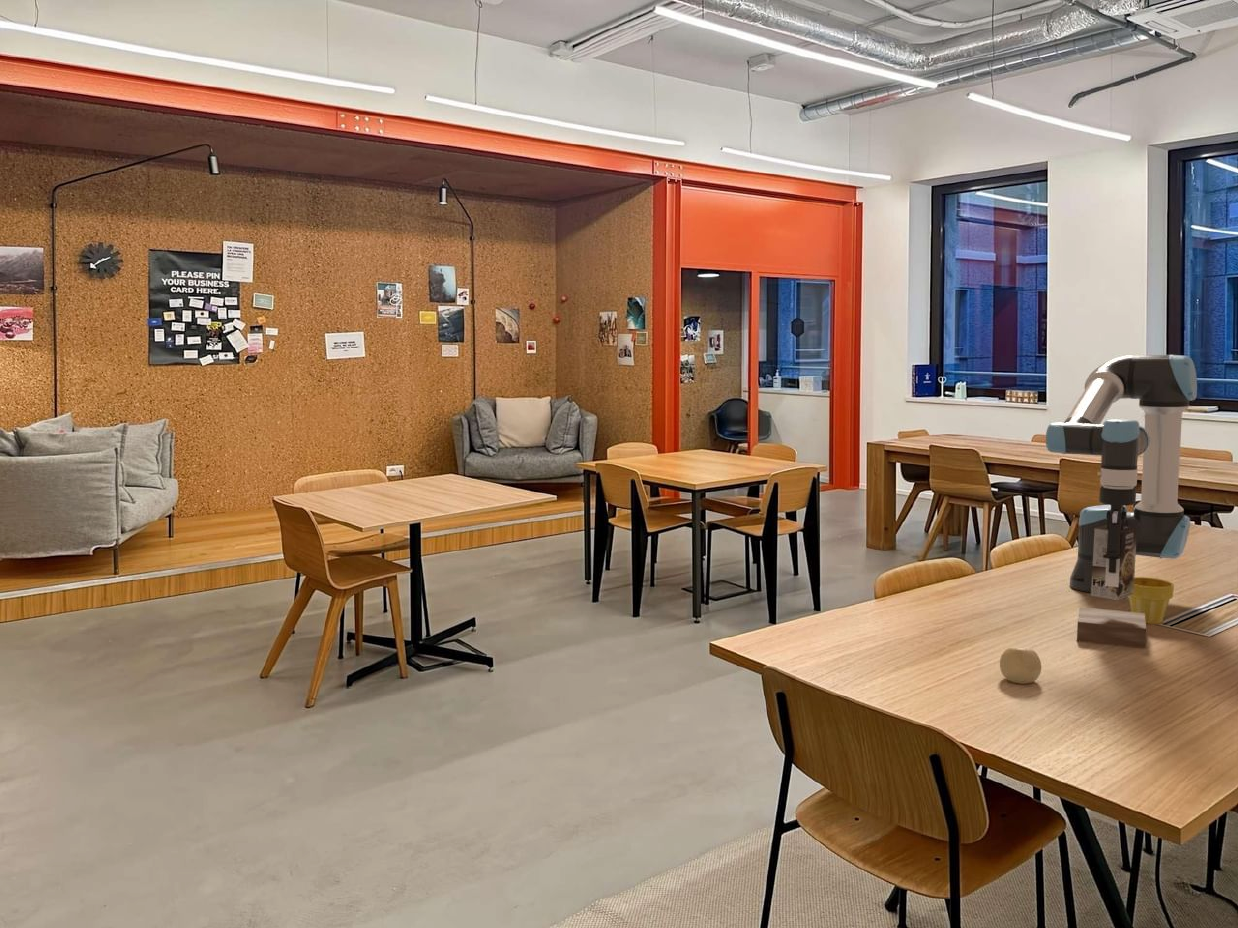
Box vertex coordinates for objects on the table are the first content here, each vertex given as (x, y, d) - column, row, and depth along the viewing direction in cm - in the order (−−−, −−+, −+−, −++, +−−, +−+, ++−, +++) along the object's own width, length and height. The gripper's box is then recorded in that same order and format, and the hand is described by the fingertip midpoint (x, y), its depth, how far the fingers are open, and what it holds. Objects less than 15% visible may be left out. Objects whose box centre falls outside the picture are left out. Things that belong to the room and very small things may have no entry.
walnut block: (1078, 626, 241) (1079, 606, 241) (1143, 633, 235) (1144, 613, 234) (1076, 642, 229) (1077, 621, 228) (1145, 650, 223) (1146, 628, 222)
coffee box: (1118, 601, 225) (1122, 531, 223) (1089, 596, 230) (1093, 527, 228) (1135, 594, 231) (1138, 526, 229) (1106, 589, 236) (1109, 522, 234)
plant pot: (1177, 627, 239) (1180, 587, 238) (1131, 625, 241) (1133, 585, 240) (1163, 615, 249) (1165, 577, 248) (1118, 613, 251) (1120, 576, 250)
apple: (1007, 686, 198) (994, 649, 201) (1006, 690, 205) (994, 654, 208) (1047, 676, 196) (1034, 639, 199) (1045, 681, 204) (1032, 644, 206)
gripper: (1103, 479, 239) (1099, 569, 242) (1095, 492, 220) (1091, 589, 222) (1138, 481, 236) (1133, 573, 238) (1133, 494, 216) (1128, 593, 219)
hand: (1113, 581), depth 230 cm, fingers closed on coffee box, 10 cm apart
